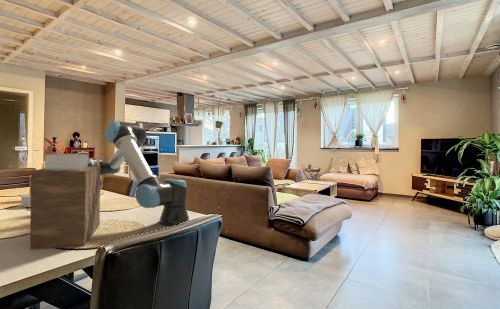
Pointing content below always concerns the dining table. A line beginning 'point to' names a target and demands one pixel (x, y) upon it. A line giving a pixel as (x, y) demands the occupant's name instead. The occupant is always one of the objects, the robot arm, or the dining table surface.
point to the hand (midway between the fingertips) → (82, 159)
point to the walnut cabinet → (64, 207)
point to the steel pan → (66, 161)
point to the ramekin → (25, 200)
